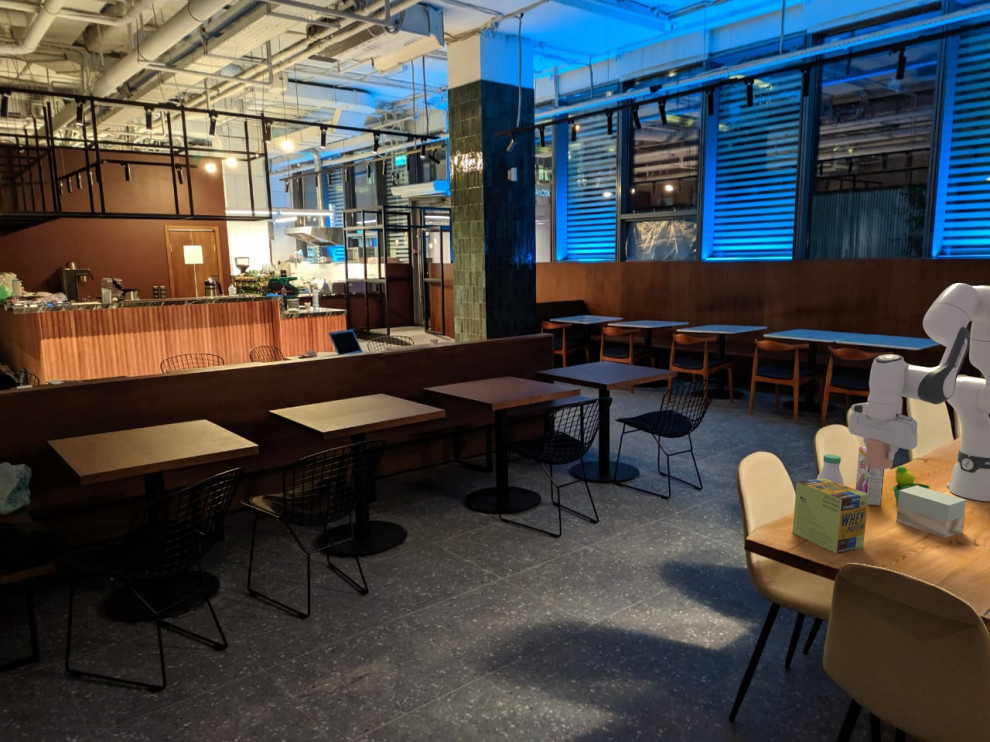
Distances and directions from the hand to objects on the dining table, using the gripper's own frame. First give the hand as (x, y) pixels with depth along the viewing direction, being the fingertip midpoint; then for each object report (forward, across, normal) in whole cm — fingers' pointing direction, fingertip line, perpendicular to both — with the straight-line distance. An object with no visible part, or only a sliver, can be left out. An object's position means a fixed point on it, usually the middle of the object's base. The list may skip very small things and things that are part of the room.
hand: (879, 456), depth 203 cm
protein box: (+20, -5, +25) cm, 32 cm away
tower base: (+21, -9, -11) cm, 25 cm away
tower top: (+16, -9, -12) cm, 22 cm away
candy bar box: (+21, +14, -14) cm, 29 cm away
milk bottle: (+20, +6, +13) cm, 25 cm away
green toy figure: (+21, +8, -25) cm, 34 cm away
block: (+3, 0, 0) cm, 3 cm away
